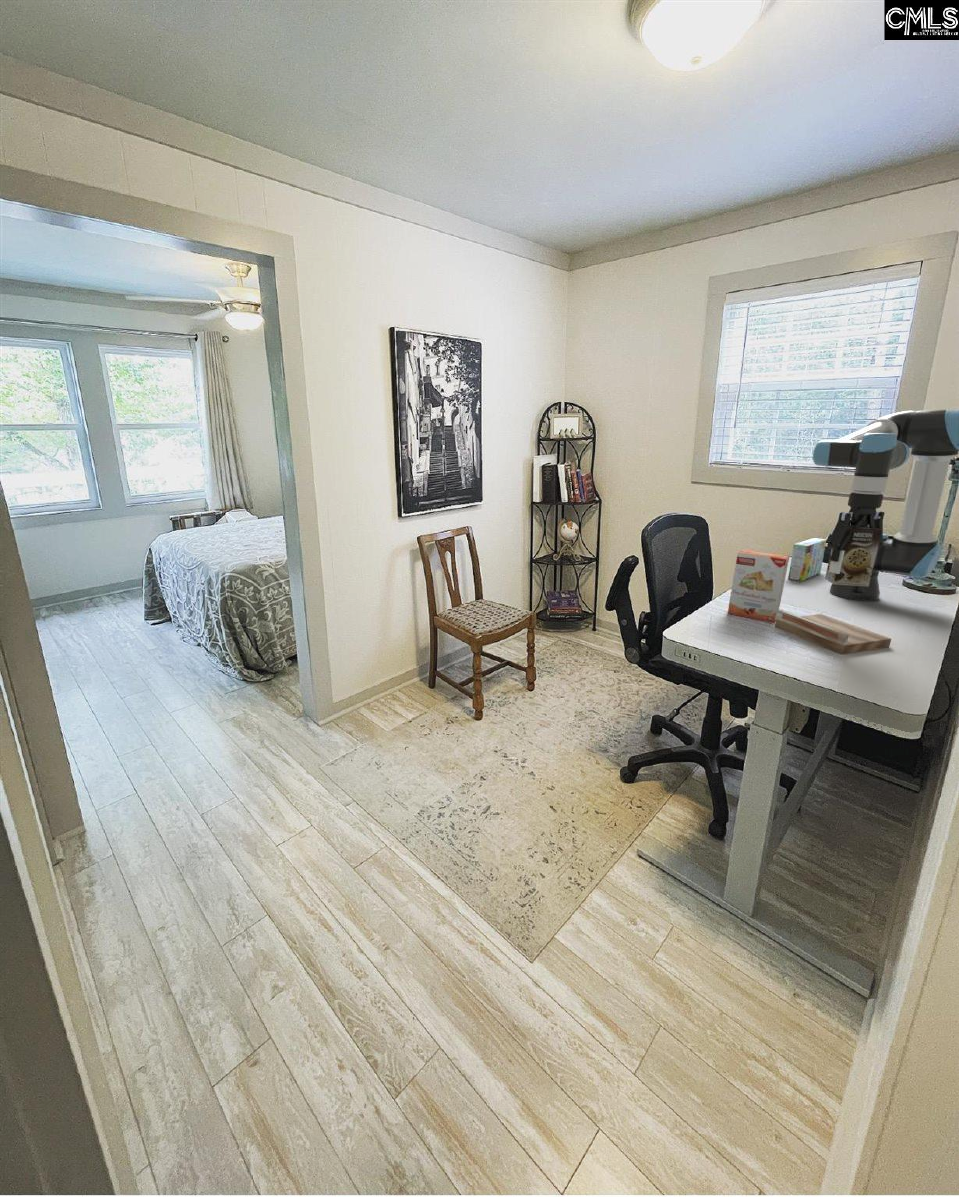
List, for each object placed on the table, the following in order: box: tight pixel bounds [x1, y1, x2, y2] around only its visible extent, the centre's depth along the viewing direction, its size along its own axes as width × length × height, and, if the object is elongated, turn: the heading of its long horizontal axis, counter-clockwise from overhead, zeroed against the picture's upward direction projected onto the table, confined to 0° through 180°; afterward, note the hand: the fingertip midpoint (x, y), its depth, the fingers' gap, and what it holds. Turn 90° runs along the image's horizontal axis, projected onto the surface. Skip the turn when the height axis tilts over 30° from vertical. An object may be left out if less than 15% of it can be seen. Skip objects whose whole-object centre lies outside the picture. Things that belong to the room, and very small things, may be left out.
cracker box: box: [727, 549, 790, 623], centre depth 168 cm, size 14×6×21 cm, turn 52°
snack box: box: [787, 537, 827, 582], centre depth 219 cm, size 21×6×15 cm, turn 130°
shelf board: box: [774, 609, 892, 655], centre depth 154 cm, size 18×22×6 cm
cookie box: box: [824, 527, 882, 586], centre depth 148 cm, size 9×6×16 cm
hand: (849, 571), depth 149 cm, fingers closed on cookie box, 10 cm apart
